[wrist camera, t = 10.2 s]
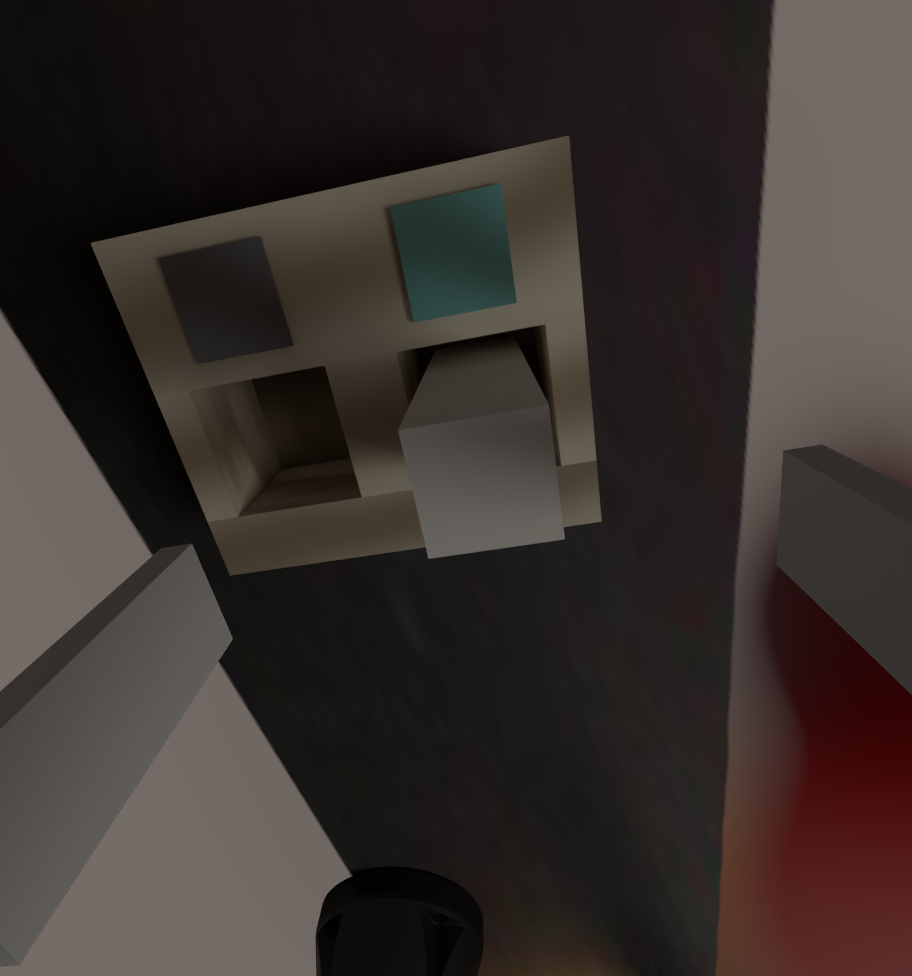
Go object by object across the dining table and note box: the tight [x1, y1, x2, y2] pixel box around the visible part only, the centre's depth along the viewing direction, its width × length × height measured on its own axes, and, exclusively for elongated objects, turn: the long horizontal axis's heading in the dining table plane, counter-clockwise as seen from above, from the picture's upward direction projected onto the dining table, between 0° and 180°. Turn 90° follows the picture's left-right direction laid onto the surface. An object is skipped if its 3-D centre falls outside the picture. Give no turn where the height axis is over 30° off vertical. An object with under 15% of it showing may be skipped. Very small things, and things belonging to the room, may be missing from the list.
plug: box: [398, 335, 565, 559], centre depth 21 cm, size 4×4×14 cm
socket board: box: [91, 136, 602, 575], centre depth 25 cm, size 15×18×7 cm
